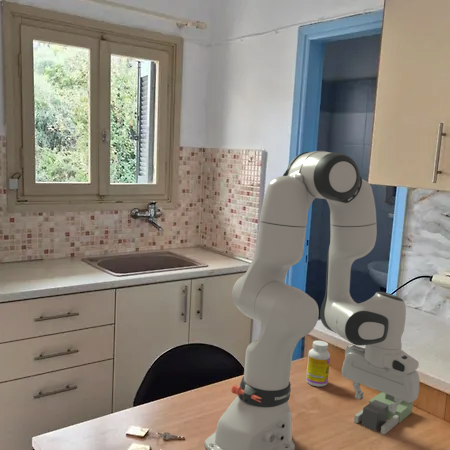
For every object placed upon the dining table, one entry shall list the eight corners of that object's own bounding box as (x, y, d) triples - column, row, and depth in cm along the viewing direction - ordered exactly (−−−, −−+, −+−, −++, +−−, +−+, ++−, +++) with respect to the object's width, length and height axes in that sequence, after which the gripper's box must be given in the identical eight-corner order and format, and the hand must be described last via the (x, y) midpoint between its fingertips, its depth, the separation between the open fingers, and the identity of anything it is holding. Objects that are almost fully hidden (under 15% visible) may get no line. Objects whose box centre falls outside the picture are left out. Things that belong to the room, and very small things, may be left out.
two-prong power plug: (385, 435, 132) (387, 413, 131) (353, 421, 138) (355, 400, 137) (411, 412, 146) (414, 392, 145) (381, 400, 151) (383, 381, 150)
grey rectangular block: (372, 416, 141) (374, 399, 141) (386, 422, 139) (388, 404, 138) (361, 425, 136) (363, 407, 136) (375, 431, 134) (377, 413, 133)
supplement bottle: (327, 388, 157) (331, 348, 155) (305, 385, 158) (309, 345, 156) (327, 380, 163) (331, 340, 162) (306, 376, 165) (310, 338, 163)
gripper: (340, 344, 139) (334, 393, 140) (415, 370, 125) (407, 424, 127) (352, 340, 144) (345, 387, 145) (425, 364, 130) (417, 416, 132)
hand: (375, 405), depth 136 cm, fingers open, 8 cm apart
